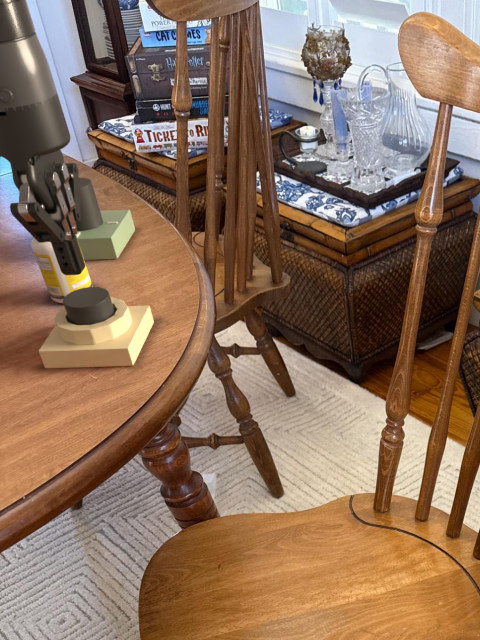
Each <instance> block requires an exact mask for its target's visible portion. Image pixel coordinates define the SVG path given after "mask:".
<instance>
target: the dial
mask: <svg viewBox="0 0 480 640" xmlns="http://www.w3.org/2000/svg"><path fill="white" fill-rule="evenodd" d="M79 193H80V212H81V220H80V222H76V226H77V231H83V230H89V229H93V228H96V227H98V226H100V225H101V224H102V223H103V219H102V216H101V212H100V211H101V209H100V206H99V203H98V199H97V196H96V192H95V188H94V186H93V182H92V180H91V179H90V178H87V177H79Z"/></svg>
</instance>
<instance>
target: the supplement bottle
mask: <svg viewBox="0 0 480 640" xmlns="http://www.w3.org/2000/svg"><path fill="white" fill-rule="evenodd" d="M77 241H78V240H77ZM78 244H79V243H78ZM79 247H80V246H79ZM31 248H32V252H33V254H34V257H35V259H36V263H37V265H38V268H39V270H40V274H41V275H42V278H43V281H44V283H45V286H46V290H47V292H48V295H49V296H50V298H51V300H52V301H53V302H55V303H58V304H63V299H64V297H65V296H66V295H68V294H69V293H71V292H73V291H75V290H78V289H82V288H87V287H94V286H93V282H92V280H91V276H90V273H89V270H88V268H87V265H86V262H85V261H86V260H84V262H85V268H84V270H83V271H82V272H81V274H79V275H64V274H63V273H62V272H61V270H60V267H59V264H58V261H57V258H56V256H55V253H54V250H53V247H52V244H51V242H43V243H39V242H38V241H37V240H36V239H35V238H34V237H33V239H32V241H31ZM80 250H81V249H80ZM81 253H82V252H81ZM82 256H83V255H82ZM83 259H84V258H83Z"/></svg>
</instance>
